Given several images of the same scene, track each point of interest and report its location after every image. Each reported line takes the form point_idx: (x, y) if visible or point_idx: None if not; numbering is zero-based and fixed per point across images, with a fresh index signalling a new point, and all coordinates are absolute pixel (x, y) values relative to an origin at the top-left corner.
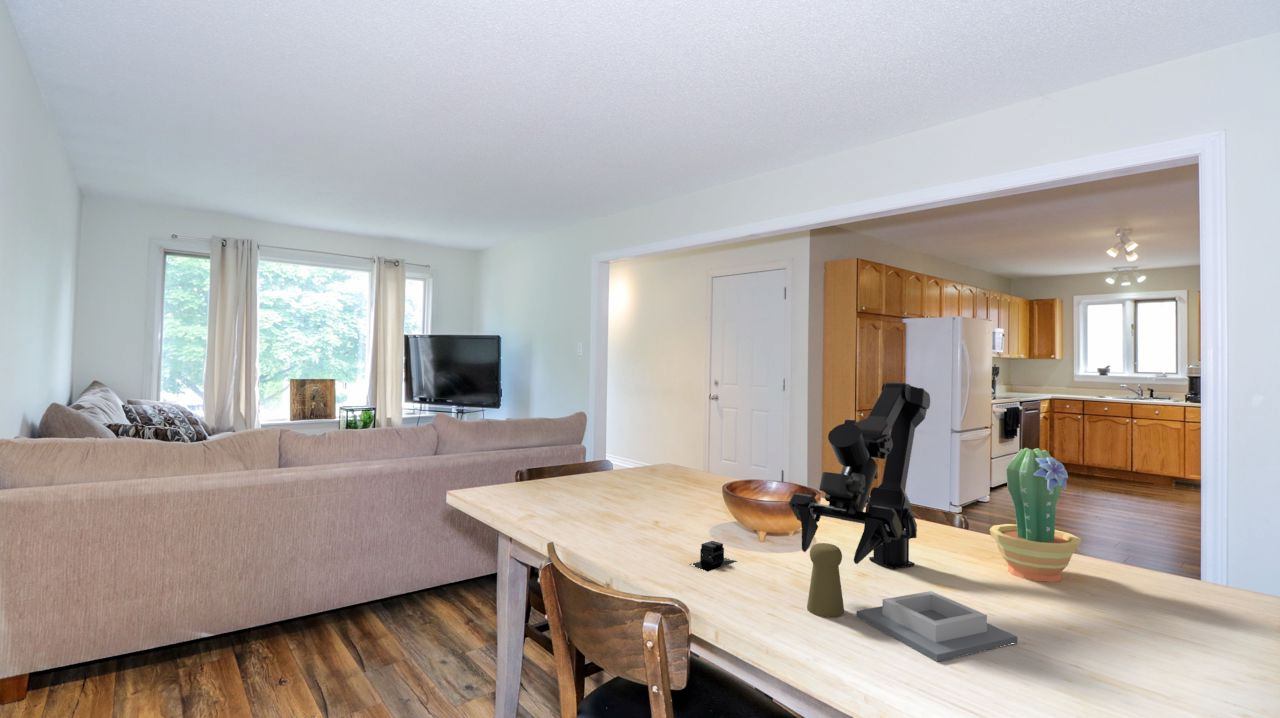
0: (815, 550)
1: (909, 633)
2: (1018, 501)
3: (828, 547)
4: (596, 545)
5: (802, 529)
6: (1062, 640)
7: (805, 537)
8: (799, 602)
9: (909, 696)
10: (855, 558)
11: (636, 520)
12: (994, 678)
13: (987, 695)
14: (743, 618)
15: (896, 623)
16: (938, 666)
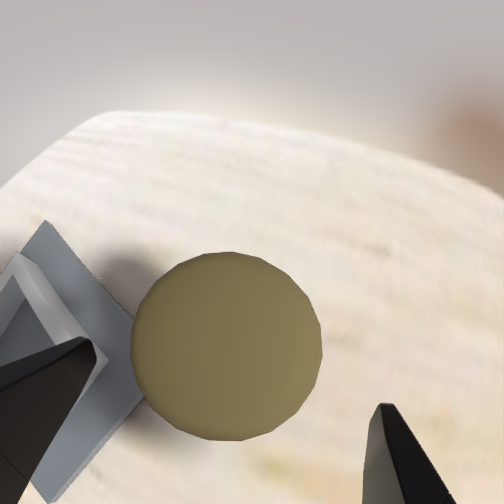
0: (266, 265)
1: (65, 280)
2: None
3: (182, 294)
4: None
5: (446, 499)
6: None
7: (399, 455)
8: (346, 379)
9: (105, 120)
10: (78, 340)
11: None
12: (10, 223)
13: (30, 177)
14: (414, 196)
15: (83, 320)
16: (54, 212)
